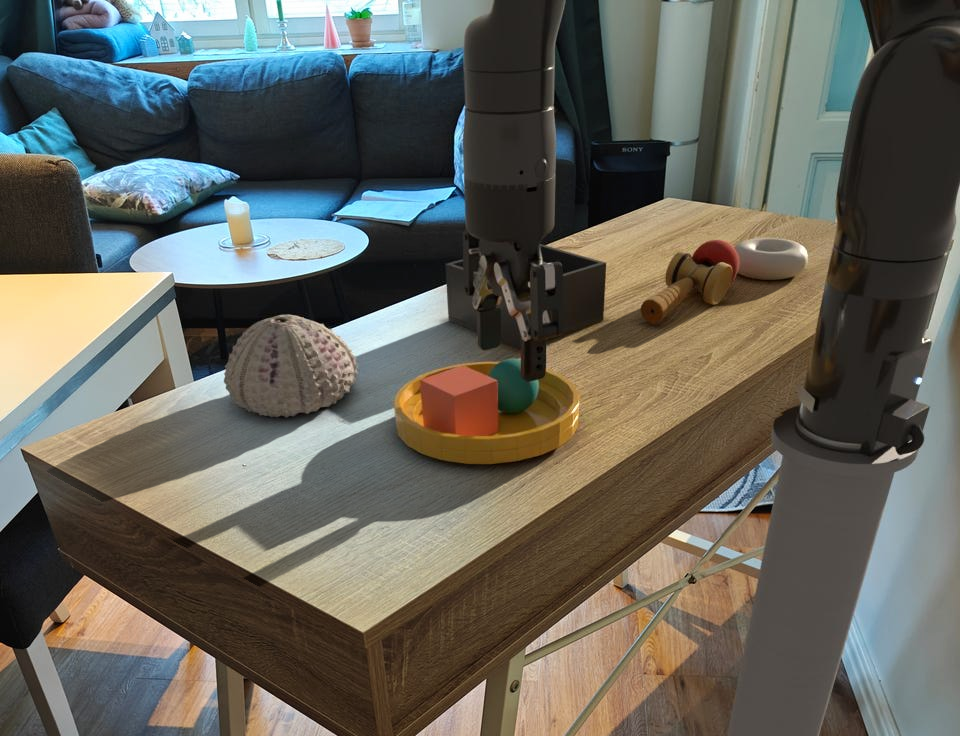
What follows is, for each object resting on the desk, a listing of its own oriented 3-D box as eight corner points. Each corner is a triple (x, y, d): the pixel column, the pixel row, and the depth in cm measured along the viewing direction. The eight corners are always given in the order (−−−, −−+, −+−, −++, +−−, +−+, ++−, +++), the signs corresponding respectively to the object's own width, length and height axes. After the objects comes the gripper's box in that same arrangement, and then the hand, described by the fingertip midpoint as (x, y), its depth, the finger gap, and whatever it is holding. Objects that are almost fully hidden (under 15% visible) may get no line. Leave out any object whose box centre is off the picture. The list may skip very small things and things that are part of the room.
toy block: (498, 431, 83) (497, 380, 79) (456, 449, 80) (453, 396, 77) (464, 415, 86) (462, 364, 83) (423, 431, 83) (419, 379, 80)
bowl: (616, 428, 84) (618, 397, 82) (475, 490, 75) (473, 458, 74) (497, 376, 94) (496, 348, 92) (361, 425, 86) (358, 396, 84)
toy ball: (549, 411, 86) (550, 360, 83) (510, 427, 83) (509, 375, 80) (514, 395, 89) (514, 346, 86) (476, 410, 86) (474, 360, 83)
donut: (731, 259, 124) (723, 280, 116) (735, 233, 121) (727, 252, 114) (807, 264, 121) (803, 285, 113) (812, 237, 119) (809, 257, 111)
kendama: (686, 342, 103) (756, 279, 112) (679, 288, 99) (753, 227, 108) (629, 340, 108) (701, 280, 117) (620, 289, 104) (696, 230, 113)
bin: (603, 320, 106) (606, 262, 102) (521, 349, 100) (520, 289, 96) (529, 295, 114) (529, 240, 110) (448, 320, 108) (445, 263, 104)
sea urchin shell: (386, 394, 91) (377, 316, 86) (276, 439, 84) (260, 356, 79) (309, 362, 99) (298, 288, 94) (202, 400, 92) (184, 322, 87)
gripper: (431, 160, 76) (441, 346, 87) (510, 194, 66) (511, 399, 77) (508, 150, 79) (509, 331, 89) (595, 181, 69) (585, 381, 79)
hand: (510, 362), depth 83 cm, fingers open, 8 cm apart
